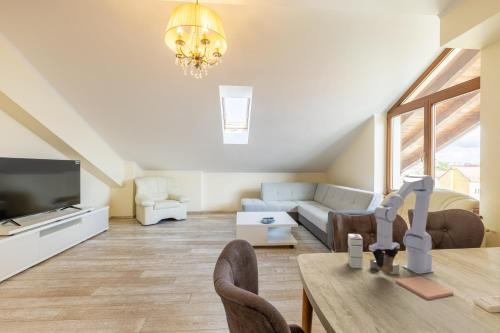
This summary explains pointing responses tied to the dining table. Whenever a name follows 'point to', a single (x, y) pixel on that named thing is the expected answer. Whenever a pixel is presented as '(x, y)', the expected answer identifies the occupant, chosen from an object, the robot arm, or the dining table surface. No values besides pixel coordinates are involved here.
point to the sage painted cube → (395, 269)
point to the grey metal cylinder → (373, 265)
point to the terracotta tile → (424, 287)
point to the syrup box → (355, 251)
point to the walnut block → (386, 264)
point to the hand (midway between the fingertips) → (384, 265)
